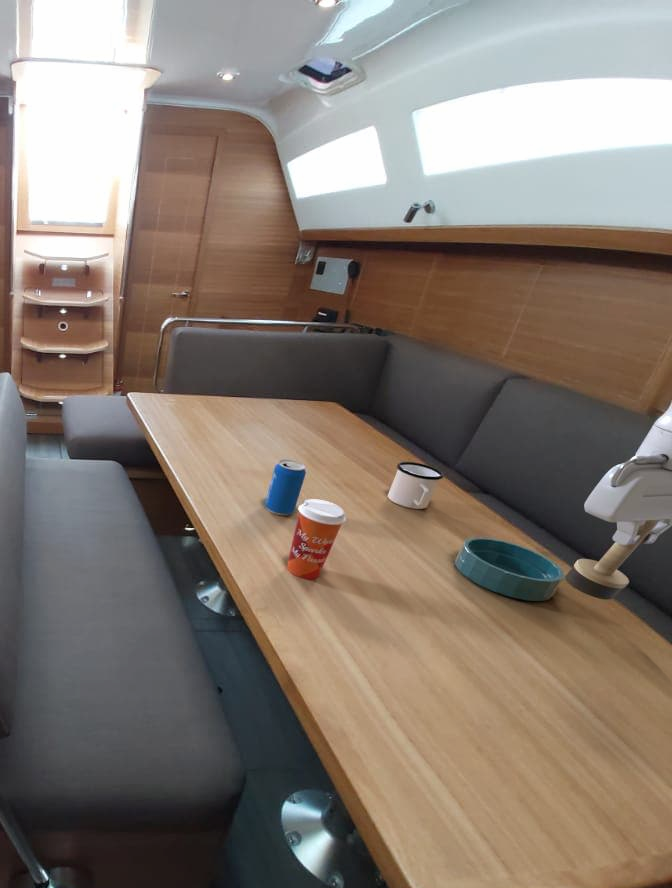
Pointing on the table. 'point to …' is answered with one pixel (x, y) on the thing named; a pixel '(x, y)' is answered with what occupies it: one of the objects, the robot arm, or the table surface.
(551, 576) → the bowl
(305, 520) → the paper cup
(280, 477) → the beverage can
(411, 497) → the mug
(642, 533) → the wooden peg on disc
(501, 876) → the table surface
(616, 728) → the table surface
